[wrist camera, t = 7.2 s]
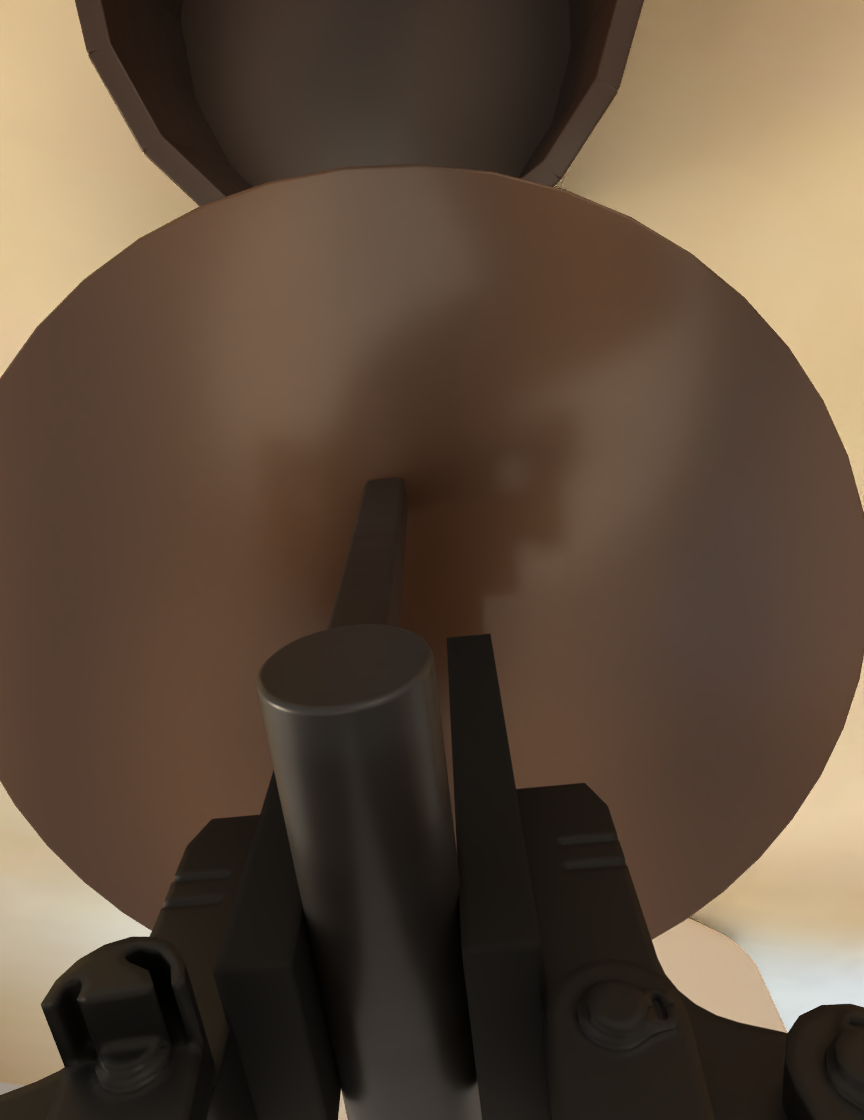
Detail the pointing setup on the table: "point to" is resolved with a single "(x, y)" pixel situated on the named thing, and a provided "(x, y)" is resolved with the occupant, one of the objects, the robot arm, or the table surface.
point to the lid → (415, 566)
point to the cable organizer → (716, 974)
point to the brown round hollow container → (357, 83)
